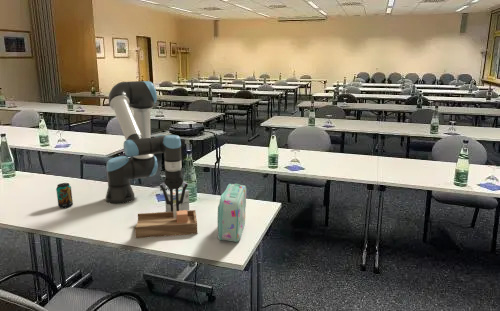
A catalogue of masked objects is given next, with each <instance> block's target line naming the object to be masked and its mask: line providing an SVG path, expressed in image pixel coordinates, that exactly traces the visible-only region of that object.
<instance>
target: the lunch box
mask: <svg viewBox="0 0 500 311" xmlns="http://www.w3.org/2000/svg"><path fill="white" fill-rule="evenodd" d="M246 205H247V186H246V185H243V184H240V183H234V184H233V183H228V184H227V186H226V189H225V190H224V191H223V193H222V194H221V195H220V198H219V204H218V206H217V237H218V240H220V241H228V242H235V243H238V242H239V240H241V238H242V235H243V232H244V229H245V228H244V227H245V224H246V208H247V206H246Z"/></svg>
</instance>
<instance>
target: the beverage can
mask: <svg viewBox="0 0 500 311" xmlns="http://www.w3.org/2000/svg"><path fill="white" fill-rule="evenodd" d="M55 191H56V198H57V205H58V207H59V208H61V209H67V208H71V207H72V206H73V205H74V201H73V194H72V187H71V184H70V183H67V182H62V183H59V184H57V187H56V189H55Z"/></svg>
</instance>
